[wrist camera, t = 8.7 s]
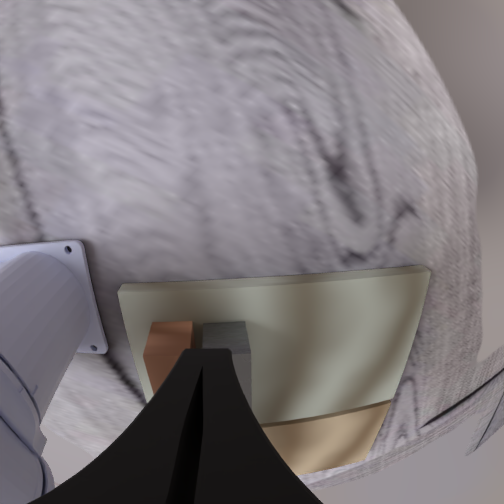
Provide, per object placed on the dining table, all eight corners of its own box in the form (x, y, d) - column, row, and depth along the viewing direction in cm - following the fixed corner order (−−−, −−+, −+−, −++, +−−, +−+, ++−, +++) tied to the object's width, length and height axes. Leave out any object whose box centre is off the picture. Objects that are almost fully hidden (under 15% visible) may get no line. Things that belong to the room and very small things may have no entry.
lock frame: (180, 475, 25) (179, 508, 21) (122, 283, 17) (100, 322, 13) (361, 452, 27) (374, 480, 23) (421, 264, 19) (459, 291, 15)
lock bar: (253, 454, 22) (257, 482, 19) (216, 457, 22) (218, 484, 19) (252, 320, 17) (259, 352, 14) (196, 323, 17) (193, 356, 14)
